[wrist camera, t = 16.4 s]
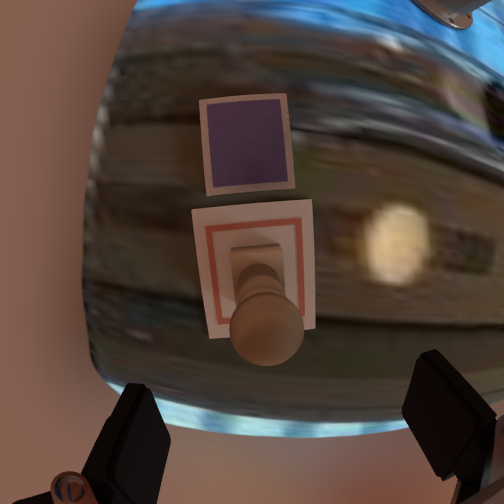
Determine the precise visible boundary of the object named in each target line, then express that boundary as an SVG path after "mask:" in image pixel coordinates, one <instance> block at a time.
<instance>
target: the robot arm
mask: <svg viewBox="0 0 504 504" xmlns="http://www.w3.org/2000/svg"><path fill="white" fill-rule="evenodd" d="M412 1H413V2H414V3H415V4H417V5H418V6H419V7H420V8H421V9H422V10H423V11H425V12H426V13H427V14H428V15H429V16H431V17H432V18H434V19H435V20H436V21H438V22H440V23H442V24H443V25H445V26H447V27H449V28H452V29H455V30H465V29H467V28H469V27H470V26H471V25H472V22H473V18H472V13H471V12H473V11H474V10H476V9H478V8H479V7H481V6H483V5H485V4H486V3H488V2H490V1H492V0H412ZM402 415H403V417H404V419H405V421H406V422H407V424H408V426H409V428H410V429H411V431H412V433H413V435H414V436H415V438H416V440H417V442H418V443H419V445H420V447H421V449H422V451H423V452H424V454H425V456H426V458H427V460H428V461H429V463H430V465H431V467H432V469H433V471H434V472H435V474H436V476H438V477H441V479H442V481H445V480H447V479H449V478H451V477H453V476H454V475H456V477H457V479H458V480H457V484H456V488H455V491H454V494H453V497H452V500H451V503H450V504H504V415H502V416H501V417H499V419H498V420H496V419H495V417H496V416H497V414H496V413H495V412H494V411H493V410H492V409H491V407H490V406H489V405H488V404H487V403H486V402H485V401H484V399H483V398H482V397H481V396H480V395H479V394H478V393H477V392H476V390H475V389H474V388H473V387H472V386H471V385H470V384H469V383H468V382H467V381H466V380H465V378H464V377H463V376H462V375H461V374H460V373H459V372H458V371H457V370H456V369H455V368H454V367H453V366H452V365H451V364H450V363H449V362H448V361H447V359H446V358H445V357H444V356H443V355H442V354H441V353H440V352H439V351H438V350H436V349H433V350H430V351H427V352H423V353H421V355H420V357H419V358H418V359H417V361H416V364H415V368H414V371H413V375H412V378H411V382H410V385H409V388H408V392H407V395H406V398H405V401H404V404H403V407H402ZM170 443H171V439H170V435H169V432H168V430H167V428H166V426H165V423H164V421H163V419H162V416H161V414H160V412H159V409H158V407H157V404H156V402H155V399H154V397H153V394H152V392H151V390H150V389H149V388H146V386H145V385H144V384H136V383H128V384H127V385H126V387H125V389H124V391H123V392H122V394H121V396H120V398H119V400H118V402H117V404H116V406H115V408H114V410H113V412H112V414H111V416H110V417H108V419H107V420H106V422H105V424H104V426H103V428H102V430H101V432H100V434H99V436H98V438H97V440H96V442H95V444H94V446H93V448H92V451H91V453H90V455H89V457H88V459H87V461H86V463H85V466H84V468H83V470H82V472H81V474H79V473H77V472H73V471H67V472H63V473H60V474H58V475H57V476H56V477H55V478H54V479H53V481H52V482H51V488H50V489H51V491H49V492H45V493H43V494H39V495H36V496H33V497H29V498H26V499H21V500H18V501H16V502H14V503H12V504H157V499H158V495H159V491H160V486H161V481H162V477H163V473H164V469H165V465H166V461H167V456H168V452H169V448H170Z"/></svg>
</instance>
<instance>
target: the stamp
mask: <svg viewBox="0 0 504 504" xmlns="http://www.w3.org/2000/svg"><path fill="white" fill-rule="evenodd" d="M230 259H231V269H232V278H233V287H234V296H235V305H236V309H235V311H234V312H233V314H232V317H231V320H230V325H229V334H230V339H231V342H232V344H233V346H234V348H235V350H236V351H237V352H238V354H239V355H240V356H241V357H243V358H244V359H245V360H247V361H249V362H251V363H253V364H256V365H261V366H272V365H277V364H280V363H282V362H284V361H286V360H288V359H289V358H290V357H292V356H293V355H294V354H295V353H296V351H297V350H298V348H299V347H300V345H301V342H302V340H303V336H304V322H303V318H302V315H301V313H300V311H299V310H298V308H297V307H296V305H295V304H294V303H293V302H292V301H290V300H289V299H288V298H287V297H286V295H285V280H284V261H283V249H282V248H281V246H280V244H268V245H256V246H245V247H234V248H231V252H230Z"/></svg>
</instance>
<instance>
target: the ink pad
mask: <svg viewBox="0 0 504 504" xmlns="http://www.w3.org/2000/svg"><path fill="white" fill-rule="evenodd" d="M199 107H200V122H201V136H202V149H203V161H204V173H205V184H206V195H207V196H211V195H221V194H231V193H242V192H253V191H266V190H280V189H295V178H294V166H293V154H292V144H291V133H290V124H289V114H288V105H287V97H286V93H278V94H255V95H241V96H229V97H220V98H211V99H203V100H199Z"/></svg>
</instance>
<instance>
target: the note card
mask: <svg viewBox="0 0 504 504" xmlns="http://www.w3.org/2000/svg"><path fill="white" fill-rule="evenodd" d="M191 211H192V220H193V228H194V237H195V245H196V252H197V260H198V267H199V274H200V281H201V288H202V295H203V301H204V308H205V314H206V320H207V326H208V332H209V338H210V339H211V338H227V337H230V334H229V325H230V320H231V317H232V314H233V312H234V311H235V309H236V305H235V296H234V287H233V278H232V269H231V259H230V252H231V248H234V247H245V246H256V245H268V244H280V246H281V248H282V249H283V261H284V280H285V295H286V297H287V298H288V299H289V300H290V301H292V302H293V303H294V304H295V305H296V307H297V308H298V310H299V311H300V313H301V315H302V318H303V322H304V330H308V329H315V261H314V233H313V213H312V199H305V200H290V201H276V202H263V203H251V204H240V205H229V206H219V207H209V208H200V209H192V210H191Z"/></svg>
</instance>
